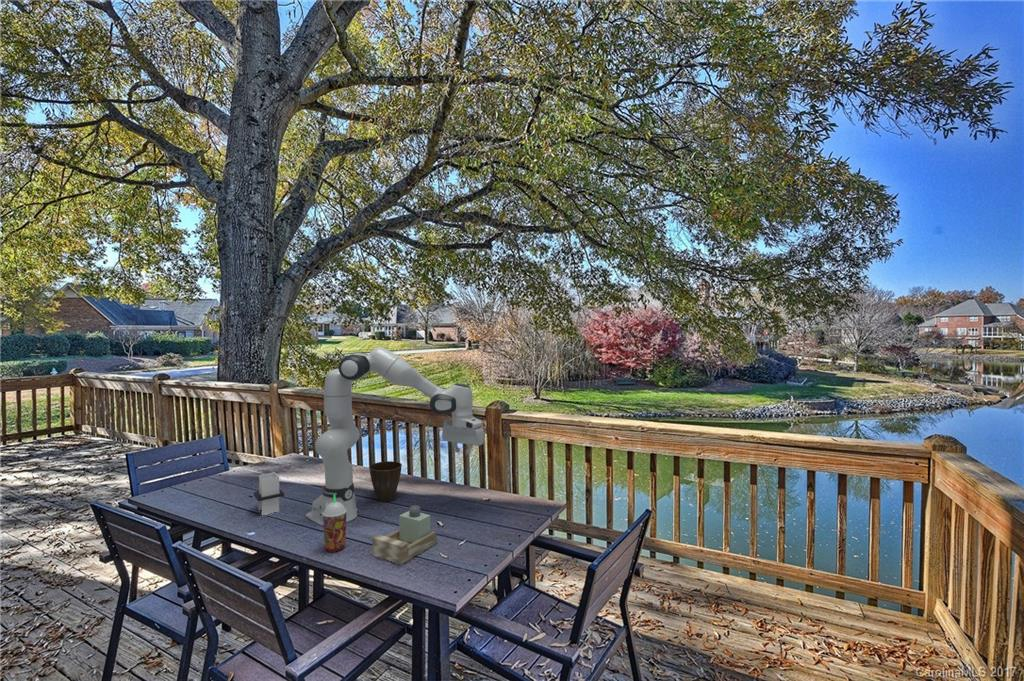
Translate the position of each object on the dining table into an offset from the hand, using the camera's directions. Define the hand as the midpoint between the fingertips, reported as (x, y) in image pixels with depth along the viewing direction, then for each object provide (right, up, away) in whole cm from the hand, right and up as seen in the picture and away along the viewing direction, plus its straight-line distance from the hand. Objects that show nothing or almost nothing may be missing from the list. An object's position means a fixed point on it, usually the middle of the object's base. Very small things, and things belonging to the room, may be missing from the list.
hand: (462, 453), depth 201 cm
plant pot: (-39, -27, +21) cm, 52 cm away
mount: (-18, -28, -30) cm, 45 cm away
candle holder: (-87, -28, +7) cm, 92 cm away
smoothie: (-44, -28, -29) cm, 60 cm away
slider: (-15, -26, -26) cm, 40 cm away
